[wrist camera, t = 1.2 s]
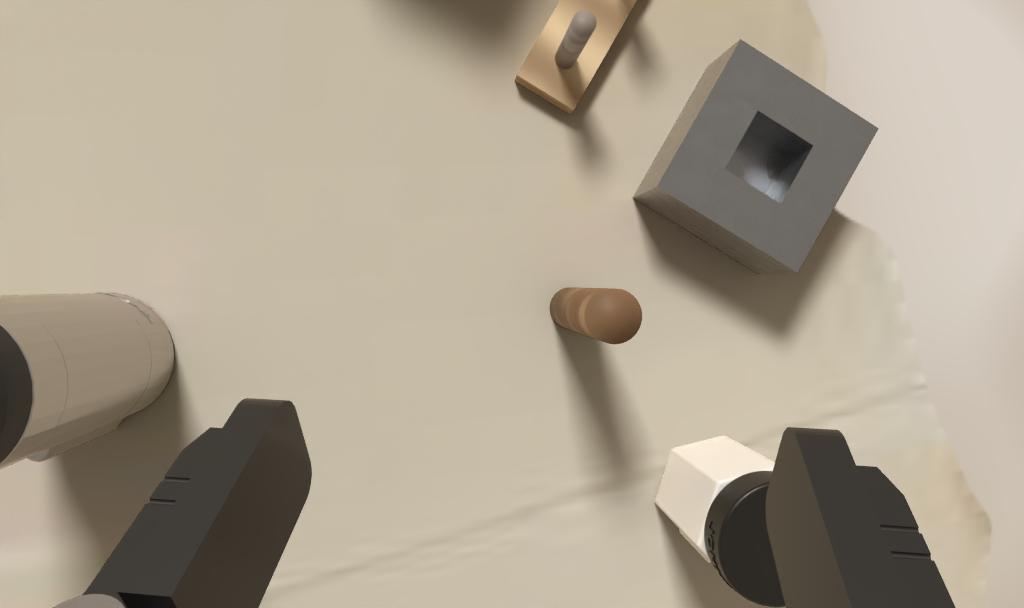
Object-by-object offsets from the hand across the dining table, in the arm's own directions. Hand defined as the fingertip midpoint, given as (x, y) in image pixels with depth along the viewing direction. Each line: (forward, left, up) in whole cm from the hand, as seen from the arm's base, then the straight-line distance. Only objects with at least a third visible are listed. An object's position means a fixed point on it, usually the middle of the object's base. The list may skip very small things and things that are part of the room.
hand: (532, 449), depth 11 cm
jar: (-2, -24, -41) cm, 48 cm away
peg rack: (+25, +3, -41) cm, 48 cm away
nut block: (+21, -13, -41) cm, 48 cm away
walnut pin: (+5, -7, -41) cm, 42 cm away
